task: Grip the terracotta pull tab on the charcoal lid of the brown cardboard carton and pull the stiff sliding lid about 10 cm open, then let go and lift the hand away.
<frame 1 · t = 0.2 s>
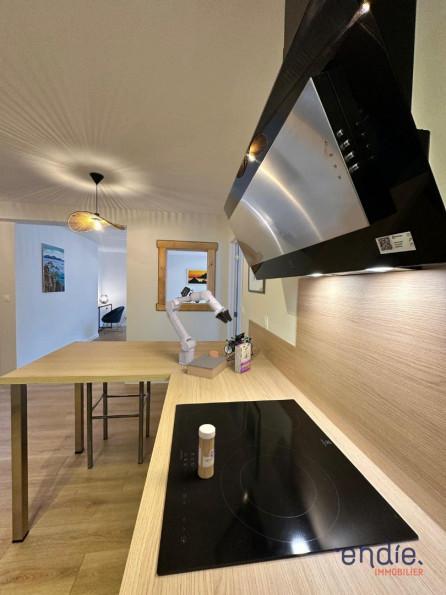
hand: (229, 321, 155), 30 cm above the worktop, tool tilted 45°, fingers open, 7 cm apart
carton: (207, 370, 155), on the worktop
sprinkles bottle: (205, 473, 73), on the worktop
candy bar box: (242, 371, 157), on the worktop
carton lid: (208, 358, 155), point 8 cm above the worktop, slide at 0.0 cm
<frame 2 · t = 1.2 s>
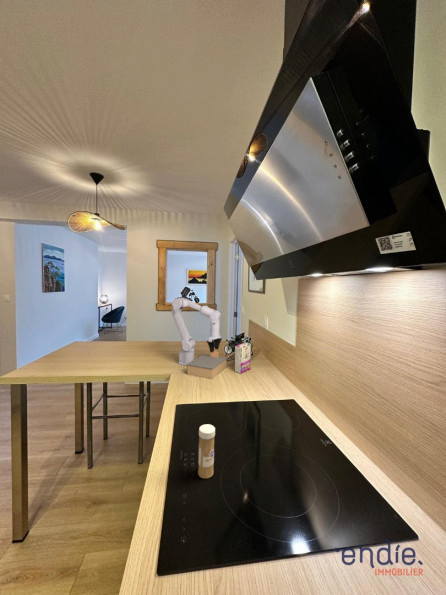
hand: (214, 350, 163), 10 cm above the worktop, tool pointing down, fingers open, 7 cm apart
nothing on the worktop moved.
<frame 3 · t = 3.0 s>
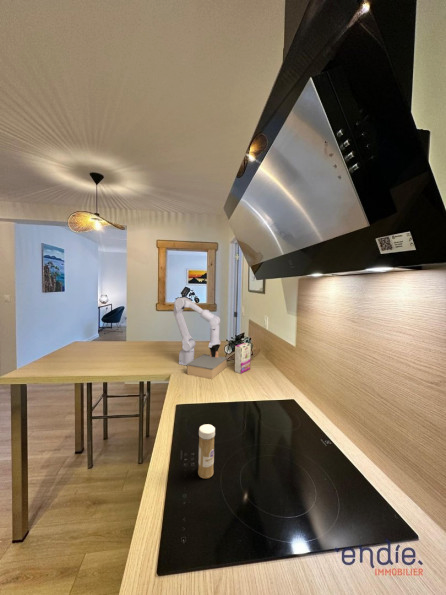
hand: (214, 356, 163), 7 cm above the worktop, tool pointing down, fingers closed on carton lid, 2 cm apart
carton lid: (208, 358, 155), point 8 cm above the worktop, slide at 0.0 cm, touching gripper
everything else where it was.
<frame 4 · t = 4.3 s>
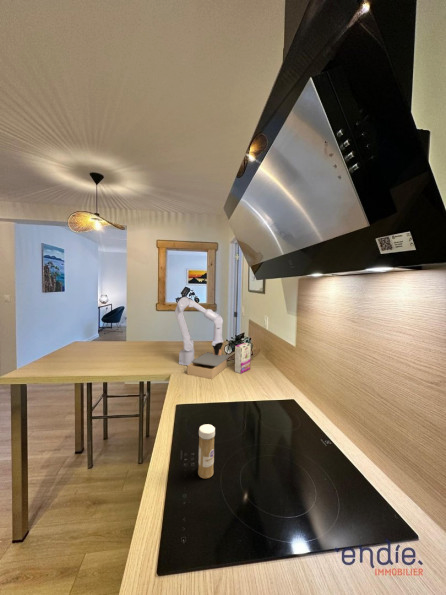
hand: (217, 354, 168), 7 cm above the worktop, tool pointing down, fingers closed on carton lid, 2 cm apart
carton lid: (211, 356, 159), point 8 cm above the worktop, slide at 5.2 cm, touching gripper
everything else where it was.
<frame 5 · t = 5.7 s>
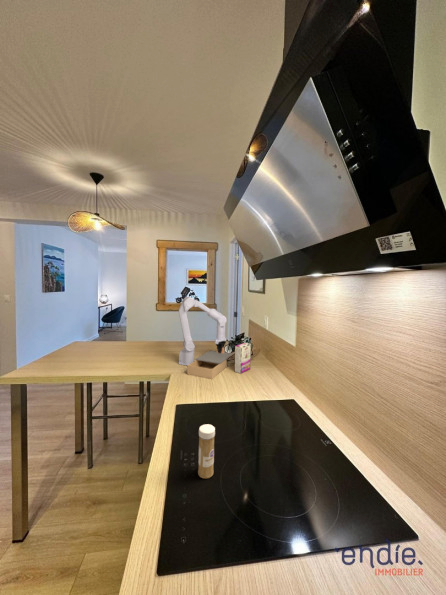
hand: (220, 352, 173), 7 cm above the worktop, tool pointing down, fingers closed on carton lid, 2 cm apart
carton lid: (215, 353, 164), point 8 cm above the worktop, slide at 10.5 cm, touching gripper
everything else where it was.
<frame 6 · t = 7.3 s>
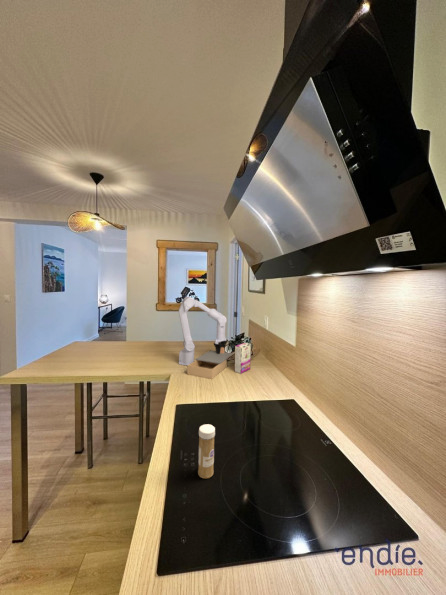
hand: (220, 352, 173), 7 cm above the worktop, tool pointing down, fingers open, 7 cm apart
carton lid: (215, 353, 164), point 8 cm above the worktop, slide at 10.5 cm
everything else where it was.
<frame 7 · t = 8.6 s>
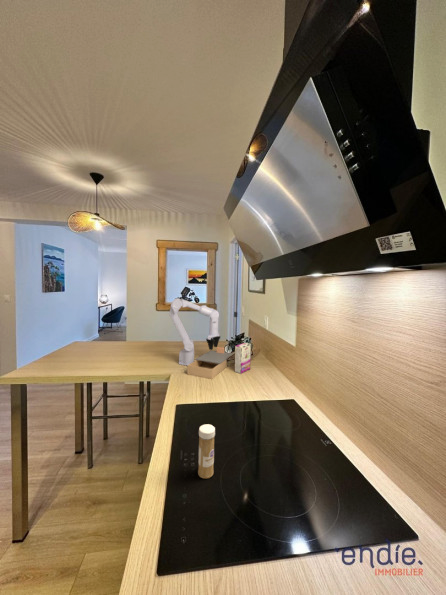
hand: (213, 348, 169), 10 cm above the worktop, tool pointing down, fingers open, 7 cm apart
nothing on the worktop moved.
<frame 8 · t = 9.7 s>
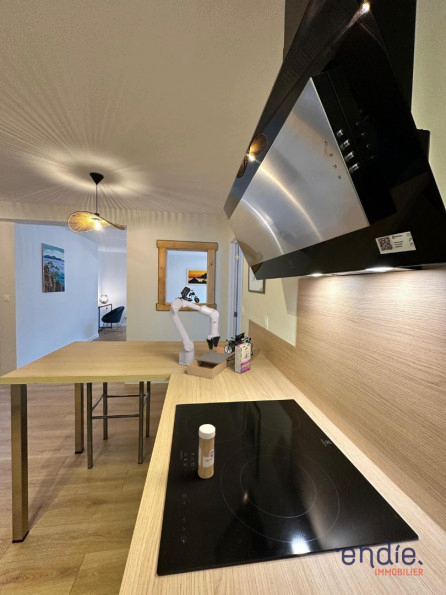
hand: (213, 348, 169), 10 cm above the worktop, tool pointing down, fingers open, 7 cm apart
nothing on the worktop moved.
at the end: carton lid slide at 10.5 cm; the gripper is holding nothing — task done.
